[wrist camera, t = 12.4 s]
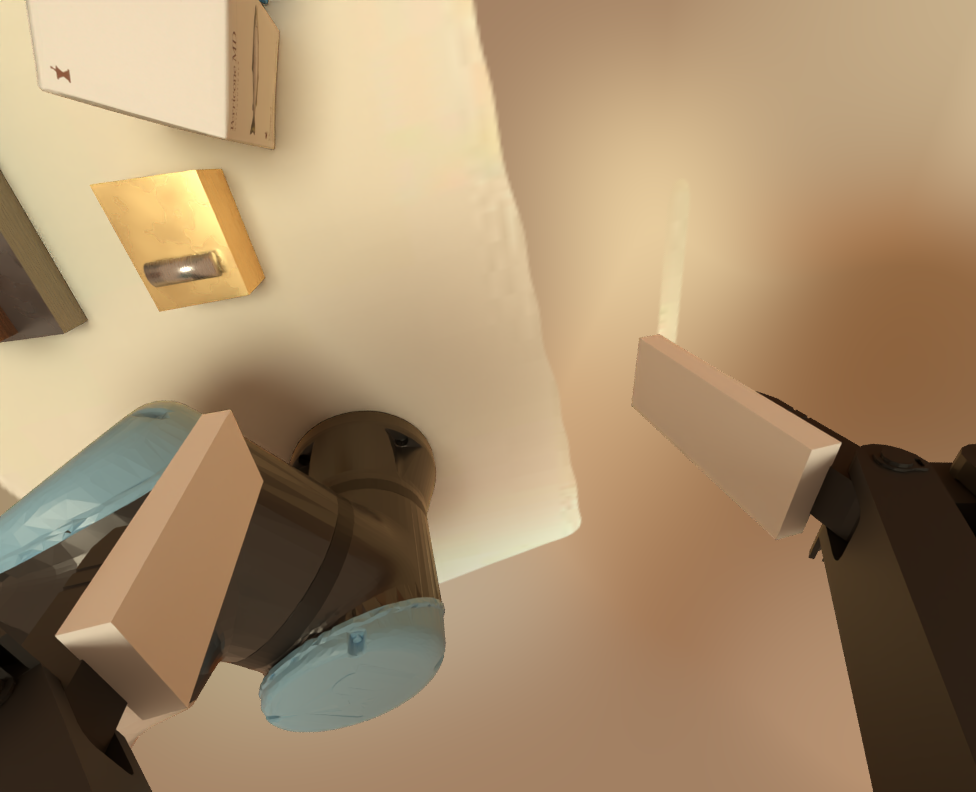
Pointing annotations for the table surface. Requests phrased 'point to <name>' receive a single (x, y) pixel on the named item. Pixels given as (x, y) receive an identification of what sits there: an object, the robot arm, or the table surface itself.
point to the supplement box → (163, 61)
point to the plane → (30, 279)
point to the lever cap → (183, 236)
